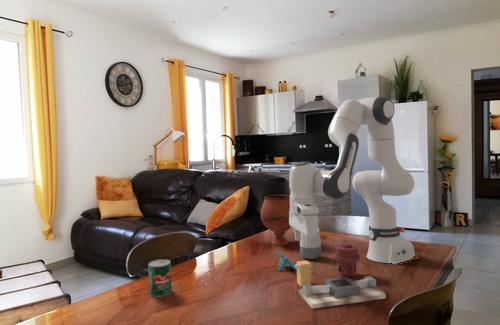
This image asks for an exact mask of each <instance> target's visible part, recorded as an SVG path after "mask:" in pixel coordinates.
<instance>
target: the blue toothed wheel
mask: <svg viewBox="0 0 500 325" xmlns="http://www.w3.org/2000/svg"><path fill="white" fill-rule="evenodd" d="M276 254H277V255H278V256H279V259H280V260H279V263H278V264H277V265H276V266H277V267H278V271H281V270H282V269H283V268H284V267H285V266H286V265H289V266H290V267H291V268H292V269H293V270H296V269H295V264H293V263H292V262H291V261H290V259H289V258H286V257H285V256H284V255H283V254H281V253H280V252H278V251H277V252H276Z"/></svg>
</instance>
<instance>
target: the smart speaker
mask: <svg viewBox="0 0 500 325" xmlns="http://www.w3.org/2000/svg"><path fill="white" fill-rule="evenodd" d="M300 236H301V240H300V241H299V253H300V256H301V257H302V258H303V259H305V260H307V261H313V260H317V259H319V258H320V257H321V253H322V244H321V243H322V242H321V234H320V228H319V227H318V233H317V236H313V237H312V239H311V242H310V244H311V246H310V247H306V246H305V245H304V241H305V235H304V234H303V233H301V232H300Z"/></svg>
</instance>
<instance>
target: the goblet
mask: <svg viewBox="0 0 500 325" xmlns="http://www.w3.org/2000/svg"><path fill="white" fill-rule="evenodd" d="M263 200H264V201H263V202H262V205H261V208H260V220H261V222H262V224H263V226H265V227H266V228H267V229H268V230H270V231H272V232H273V233H274V235H275V237H274V238H273V239H272V241H271V244H272V245H275V246H285V245H288V244H289V241H288V239H286V237H285V234H286V232H287V231H289V230H290V229H291V228H292V227H291V226H290V224H289V211H290V194H270V195H266V196H265V195H264V199H263Z"/></svg>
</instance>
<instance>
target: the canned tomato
mask: <svg viewBox="0 0 500 325" xmlns="http://www.w3.org/2000/svg"><path fill="white" fill-rule="evenodd" d="M147 267H148V283H149V284H148V286H149V293H148V294H149V296H150V295H151V296H150V297H152V296H154V297H153V298H162V297H166V296H168V295H170V294H171V293H172V292H173V290H172V288H173V287H172V268H171V267H172V264H171V260H170V259H165V258H163V259H160V258H159V259H154V260H151V261H150V262H148V266H147Z"/></svg>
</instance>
